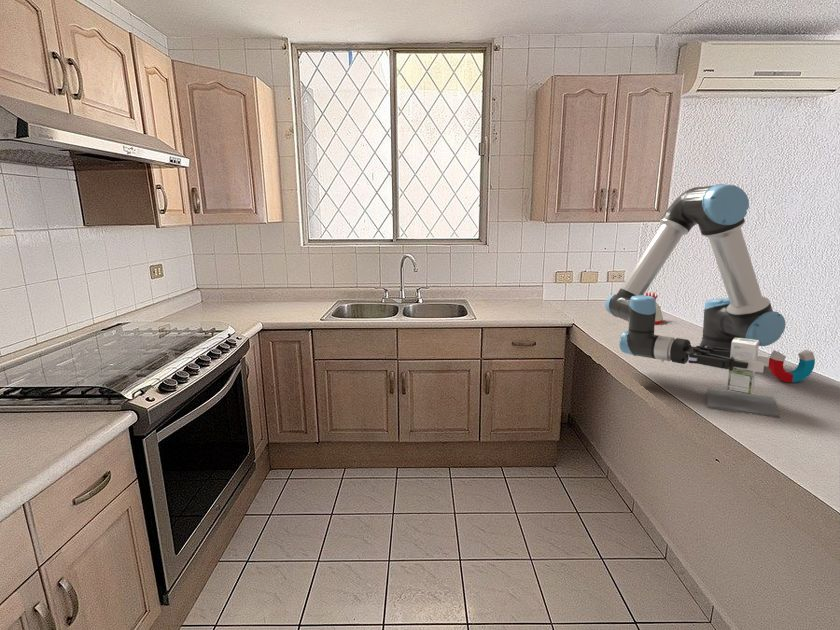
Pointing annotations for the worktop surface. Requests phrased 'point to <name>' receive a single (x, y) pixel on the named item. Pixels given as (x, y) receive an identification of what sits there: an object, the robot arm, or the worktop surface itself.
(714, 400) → the rubber mat
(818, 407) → the worktop surface
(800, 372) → the magnet
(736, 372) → the syrup box
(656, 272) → the robot arm
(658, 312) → the cream beanie hat
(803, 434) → the worktop surface
